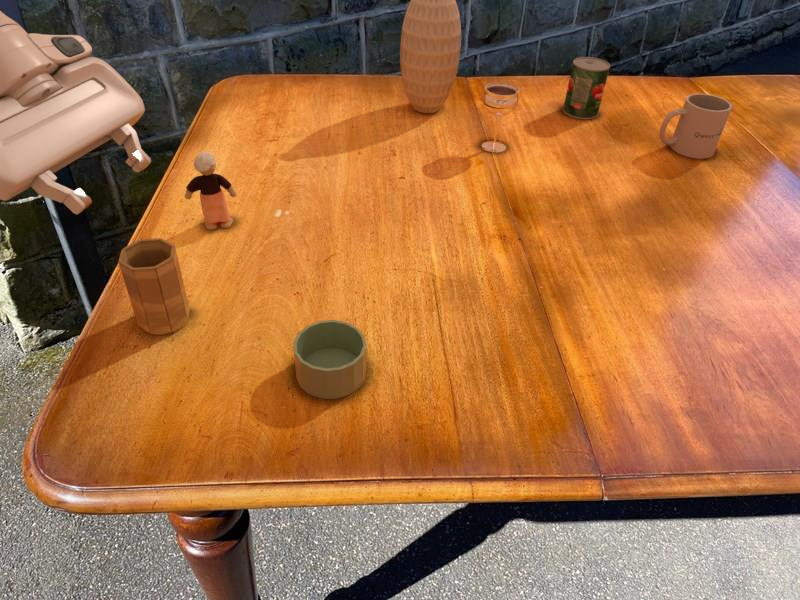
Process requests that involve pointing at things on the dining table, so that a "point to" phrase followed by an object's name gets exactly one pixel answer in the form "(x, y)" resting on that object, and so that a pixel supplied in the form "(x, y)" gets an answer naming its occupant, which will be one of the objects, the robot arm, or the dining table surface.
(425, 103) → the vase
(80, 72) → the robot arm
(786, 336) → the dining table surface
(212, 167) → the grandmother figurine
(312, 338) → the gray bowl
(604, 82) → the canned tomato
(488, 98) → the wineglass
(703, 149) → the mug
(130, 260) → the octagonal wooden container
